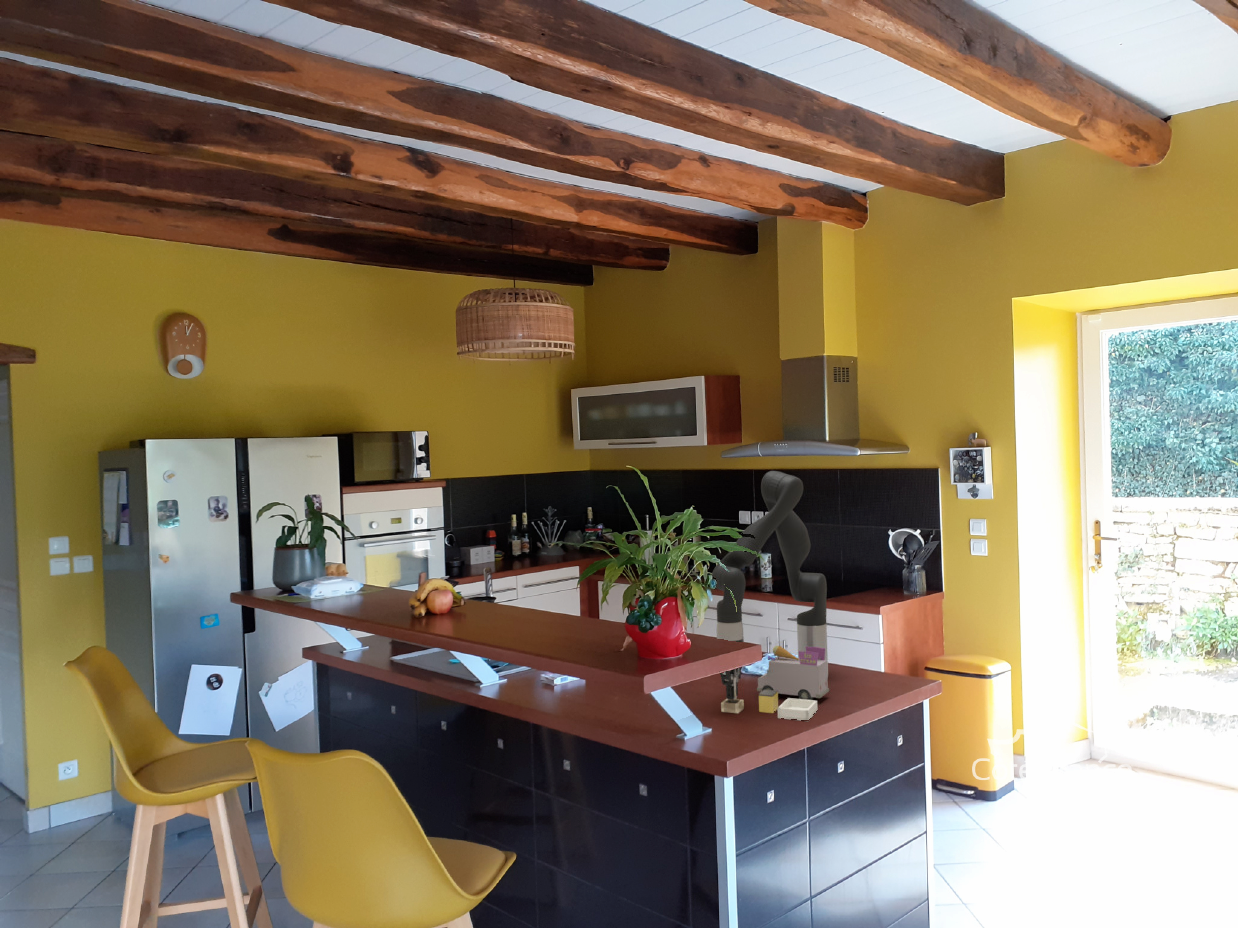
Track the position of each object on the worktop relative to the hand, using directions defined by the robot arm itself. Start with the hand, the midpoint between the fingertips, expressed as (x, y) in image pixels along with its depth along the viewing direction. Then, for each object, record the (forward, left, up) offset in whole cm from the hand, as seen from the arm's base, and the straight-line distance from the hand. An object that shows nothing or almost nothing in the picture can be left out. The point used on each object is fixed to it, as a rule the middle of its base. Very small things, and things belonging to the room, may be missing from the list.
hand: (732, 697), depth 263 cm
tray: (-2, +18, -4) cm, 19 cm away
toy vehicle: (-18, +12, -4) cm, 22 cm away
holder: (0, 0, -4) cm, 4 cm away
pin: (0, 0, -4) cm, 4 cm away
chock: (-3, +9, -4) cm, 11 cm away
